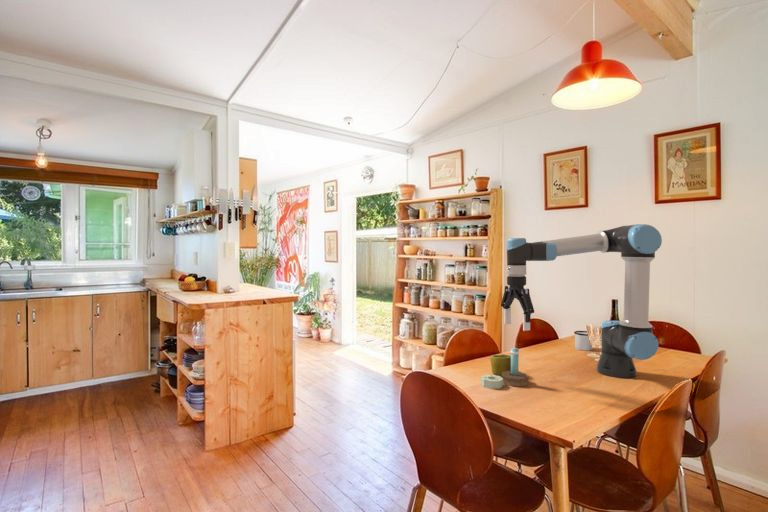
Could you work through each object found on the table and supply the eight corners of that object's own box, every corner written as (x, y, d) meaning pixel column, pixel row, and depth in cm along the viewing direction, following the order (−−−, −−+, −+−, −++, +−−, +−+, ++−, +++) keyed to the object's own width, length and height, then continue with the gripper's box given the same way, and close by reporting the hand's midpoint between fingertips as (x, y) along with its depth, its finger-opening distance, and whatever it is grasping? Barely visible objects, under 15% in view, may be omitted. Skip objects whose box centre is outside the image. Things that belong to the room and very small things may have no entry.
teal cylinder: (518, 381, 168) (518, 347, 167) (518, 383, 165) (518, 349, 164) (510, 380, 168) (510, 347, 168) (510, 383, 165) (510, 349, 165)
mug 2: (587, 352, 214) (587, 335, 214) (570, 348, 222) (570, 332, 222) (598, 348, 221) (599, 332, 221) (581, 345, 229) (582, 329, 229)
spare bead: (497, 381, 168) (497, 374, 167) (505, 388, 160) (505, 380, 160) (478, 382, 167) (478, 375, 166) (486, 389, 159) (486, 381, 159)
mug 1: (518, 374, 170) (510, 351, 173) (494, 380, 173) (487, 357, 175) (517, 371, 182) (509, 349, 185) (494, 377, 184) (487, 355, 187)
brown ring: (526, 379, 170) (526, 371, 170) (528, 387, 160) (528, 379, 160) (501, 377, 173) (501, 370, 173) (502, 385, 163) (502, 377, 163)
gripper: (492, 274, 177) (492, 322, 177) (526, 278, 153) (526, 333, 153) (507, 273, 179) (507, 321, 179) (543, 277, 155) (544, 332, 155)
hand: (516, 327), depth 166 cm, fingers open, 13 cm apart
